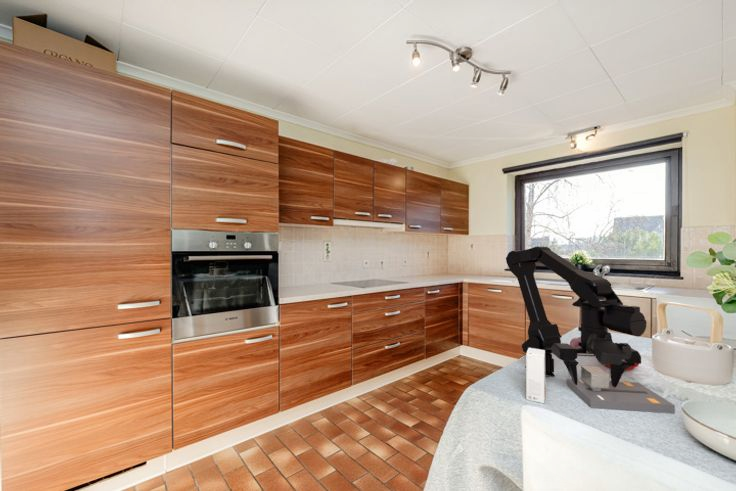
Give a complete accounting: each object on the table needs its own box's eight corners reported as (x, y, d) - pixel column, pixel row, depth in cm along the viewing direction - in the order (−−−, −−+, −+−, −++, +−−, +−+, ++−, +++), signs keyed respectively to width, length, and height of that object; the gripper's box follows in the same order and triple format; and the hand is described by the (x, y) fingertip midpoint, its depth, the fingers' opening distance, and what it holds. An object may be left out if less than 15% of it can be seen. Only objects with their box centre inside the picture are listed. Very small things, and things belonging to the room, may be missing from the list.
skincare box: (545, 404, 77) (544, 356, 77) (526, 400, 80) (525, 353, 80) (546, 394, 83) (545, 349, 83) (528, 390, 85) (527, 346, 85)
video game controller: (602, 360, 110) (601, 340, 113) (604, 358, 107) (602, 337, 110) (569, 355, 116) (569, 336, 118) (570, 353, 112) (569, 333, 115)
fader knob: (591, 393, 79) (591, 373, 79) (581, 384, 84) (581, 365, 84) (608, 394, 78) (608, 374, 78) (597, 385, 83) (597, 366, 83)
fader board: (590, 407, 75) (590, 399, 75) (567, 385, 87) (567, 378, 87) (674, 413, 73) (674, 404, 73) (638, 389, 84) (638, 382, 84)
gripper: (570, 333, 74) (570, 398, 74) (658, 336, 71) (658, 403, 71) (550, 322, 85) (551, 378, 85) (625, 324, 82) (626, 382, 82)
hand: (594, 385), depth 81 cm, fingers open, 9 cm apart
